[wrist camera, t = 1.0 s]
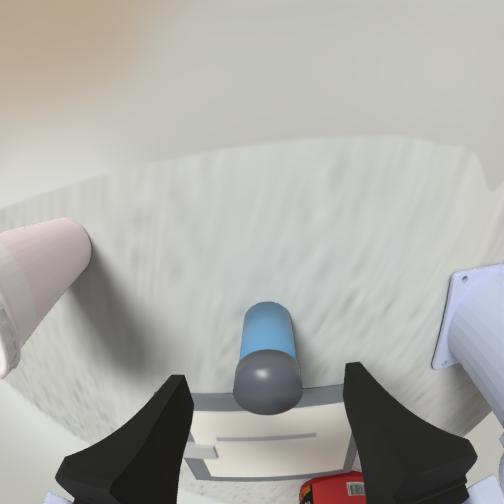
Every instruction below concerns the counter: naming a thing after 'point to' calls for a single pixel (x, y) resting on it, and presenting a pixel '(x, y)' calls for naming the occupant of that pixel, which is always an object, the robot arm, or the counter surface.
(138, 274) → the counter surface
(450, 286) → the robot arm
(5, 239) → the smoothie
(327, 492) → the canned food
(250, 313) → the marker
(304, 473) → the clipboard
